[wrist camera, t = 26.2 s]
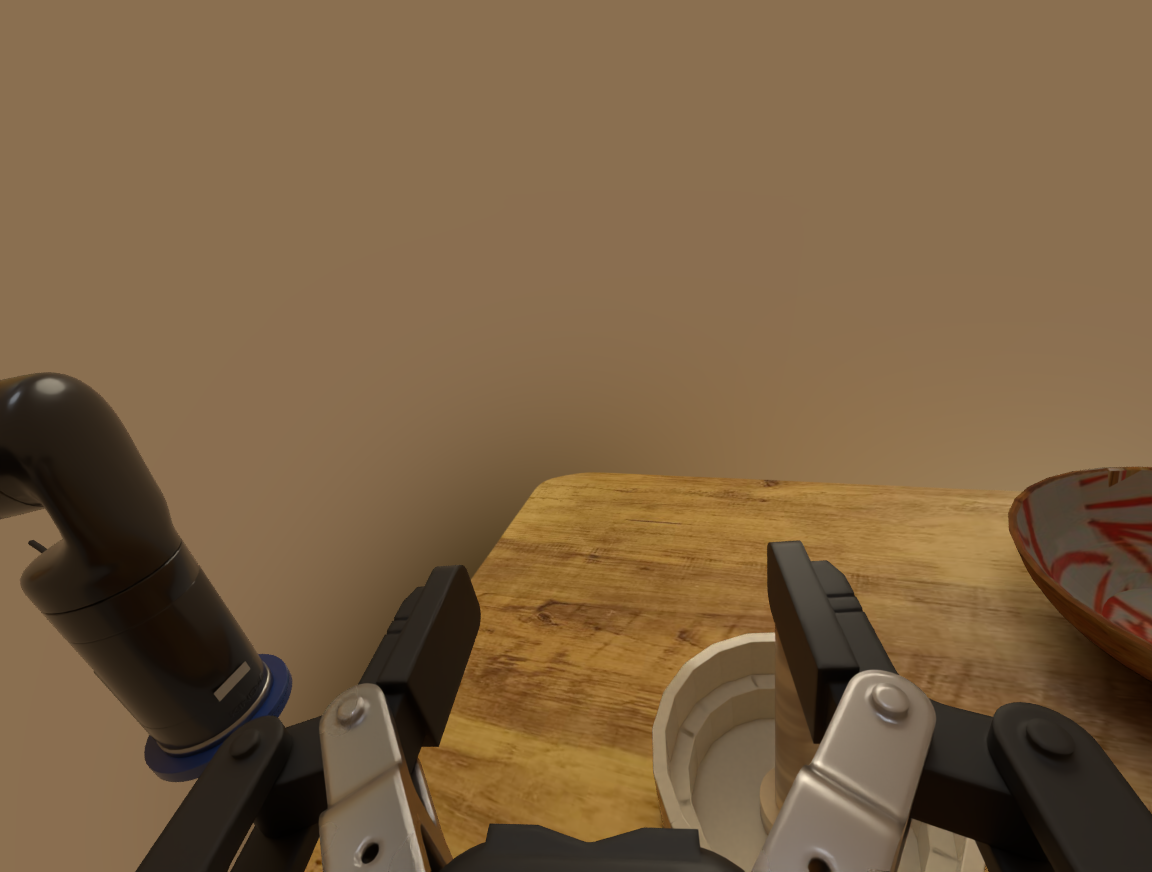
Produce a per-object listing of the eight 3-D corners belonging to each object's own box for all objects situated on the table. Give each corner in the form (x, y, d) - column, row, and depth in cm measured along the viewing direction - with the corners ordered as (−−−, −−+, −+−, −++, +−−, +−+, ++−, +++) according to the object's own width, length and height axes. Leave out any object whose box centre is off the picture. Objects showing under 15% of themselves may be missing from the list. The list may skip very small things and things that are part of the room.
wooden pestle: (769, 860, 29) (766, 652, 21) (753, 781, 33) (746, 579, 25) (848, 864, 28) (876, 648, 21) (823, 782, 32) (838, 574, 25)
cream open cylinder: (673, 1002, 25) (657, 938, 22) (659, 701, 40) (649, 636, 37) (1041, 1037, 22) (1087, 969, 19) (881, 698, 37) (891, 627, 34)
